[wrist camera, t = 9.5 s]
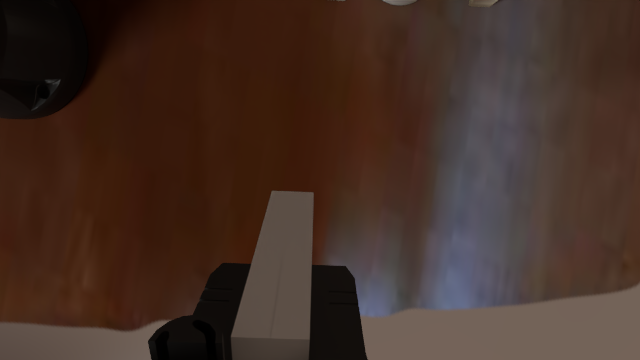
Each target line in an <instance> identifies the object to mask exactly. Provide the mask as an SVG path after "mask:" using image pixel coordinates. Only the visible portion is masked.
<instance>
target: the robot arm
mask: <svg viewBox="0 0 640 360" xmlns="http://www.w3.org/2000/svg"><path fill="white" fill-rule="evenodd" d="M87 57H88V49H87V40H86V35H85V31H84V27H83V24H82V22H81V19H80V17H79V15H78V13H77V11H76V9H75V8H74V6H73V5H72V3H71V2H70V0H0V118H6V119H36V118H41V117H45V116H48V115H50V114H52V113H54V112H56V111H58V110H59V109H61V108H62V107H64V106H65V105H66V104H67V103H68V102H69V101H70V100H71V99H72V98H73V96H74V95H75V94H76V92H77V91H78V89H79V87H80V85H81V83H82V80H83V78H84V75H85V71H86V66H87ZM313 196H314V193H313V192H289V191H272V193H271V197H270V200H269V204H268V207H267V211H266V214H265V218H264V221H263V225H262V228H261V232H260V236H259V239H258V243H257V246H256V250H255V253H254V257H253V260H252V264H239V263H222V264H221V265H220V266H219V267H218V268H217V269H216V270H215V271H214V272H213V273H211V275H210V277H209V279H208V281H207V284H206V286H205V290H204V291H203V293H202V295H201V297H200V301H199V302H198V304H197V307H196V309H195V311H194V313H193V315H190V316H182V317H180V318H177V319H174V320H172V321H169V322H168V323H166V324H165V325H163V326H162V327H160V328H159V329H158V330H156V332H155V333H154V334H153V336H152V337H151V338H150V339H149V341H148V344H149V349H150V354H151V359H152V360H368V359H367V356H366V353H365V346H364V339H363V334H362V326H361V319H360V312H359V307H358V298H357V294H356V293H357V292H356V285H355V278H354V277H353V275H352V274H351V273H350V271H349V270H348V269H347V267H346V266H326V265H312V233H313Z"/></svg>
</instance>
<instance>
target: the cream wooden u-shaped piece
mask: <svg viewBox="0 0 640 360" xmlns="http://www.w3.org/2000/svg"><path fill="white" fill-rule="evenodd" d="M338 1H345V0H338ZM497 1H498V0H469V6H474V7H490V6H492V5H493V4H494V3H495V2H497Z"/></svg>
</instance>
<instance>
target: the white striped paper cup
mask: <svg viewBox="0 0 640 360" xmlns="http://www.w3.org/2000/svg"><path fill="white" fill-rule="evenodd" d="M382 1H384V2H386V3H389V4H392V5H408V4H411V3H414V2H416V1H418V0H382Z"/></svg>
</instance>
